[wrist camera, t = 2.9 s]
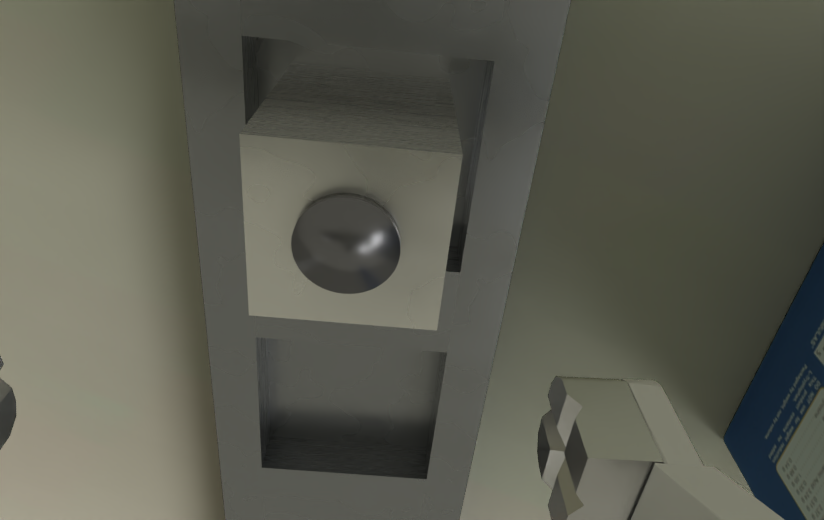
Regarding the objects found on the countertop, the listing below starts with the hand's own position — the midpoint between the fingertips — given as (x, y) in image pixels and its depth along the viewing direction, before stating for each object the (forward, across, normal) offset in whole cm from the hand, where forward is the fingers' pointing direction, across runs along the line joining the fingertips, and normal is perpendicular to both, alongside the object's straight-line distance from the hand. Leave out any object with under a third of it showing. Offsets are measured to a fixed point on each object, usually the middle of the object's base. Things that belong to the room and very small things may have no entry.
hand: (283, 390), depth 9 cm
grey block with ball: (+10, -1, 0) cm, 10 cm away
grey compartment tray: (+11, -1, +9) cm, 14 cm away
